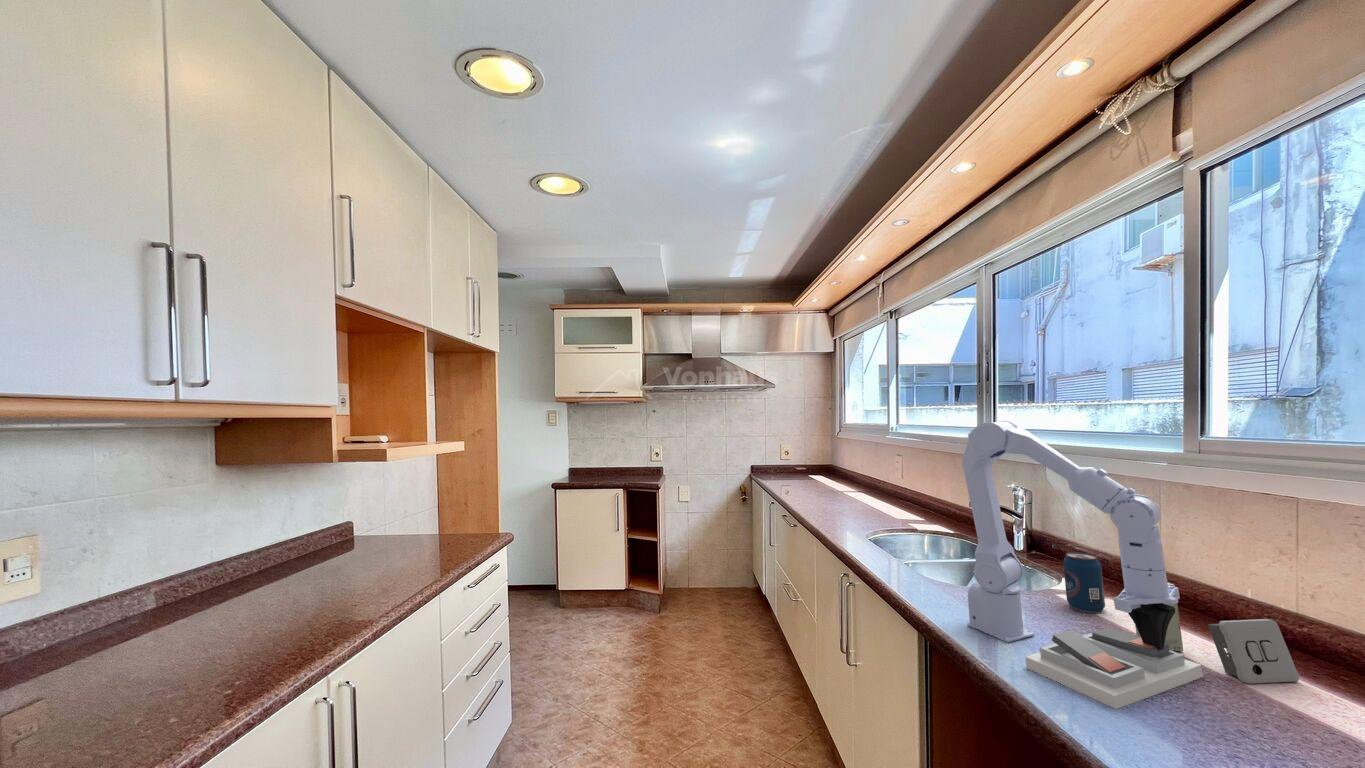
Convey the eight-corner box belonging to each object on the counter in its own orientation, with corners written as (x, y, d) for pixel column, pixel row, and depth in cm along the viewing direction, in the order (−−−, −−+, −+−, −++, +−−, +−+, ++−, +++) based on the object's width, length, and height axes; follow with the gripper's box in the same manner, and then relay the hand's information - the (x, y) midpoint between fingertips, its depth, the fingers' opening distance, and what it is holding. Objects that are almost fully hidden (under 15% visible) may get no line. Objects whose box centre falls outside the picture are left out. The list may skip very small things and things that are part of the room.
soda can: (1060, 602, 119) (1055, 551, 120) (1092, 602, 118) (1087, 551, 119) (1079, 614, 112) (1074, 559, 113) (1113, 614, 111) (1108, 559, 112)
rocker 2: (1092, 639, 93) (1091, 631, 93) (1110, 634, 94) (1109, 626, 94) (1151, 657, 84) (1150, 648, 84) (1169, 651, 86) (1168, 643, 86)
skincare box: (1184, 652, 93) (1177, 585, 94) (1157, 651, 94) (1150, 584, 95) (1159, 637, 99) (1153, 574, 100) (1134, 636, 100) (1128, 574, 101)
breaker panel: (1026, 668, 90) (1024, 647, 90) (1108, 643, 98) (1106, 624, 98) (1116, 709, 77) (1113, 684, 77) (1202, 677, 85) (1200, 655, 85)
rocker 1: (1051, 640, 89) (1053, 634, 89) (1070, 635, 91) (1072, 629, 90) (1107, 680, 81) (1109, 673, 80) (1127, 674, 82) (1129, 667, 82)
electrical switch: (1245, 685, 82) (1233, 625, 83) (1212, 672, 87) (1201, 616, 88) (1302, 683, 82) (1288, 623, 83) (1265, 670, 87) (1253, 614, 88)
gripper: (1144, 578, 81) (1156, 666, 80) (1196, 566, 86) (1208, 648, 85) (1096, 568, 88) (1106, 649, 86) (1147, 557, 93) (1157, 633, 91)
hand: (1154, 647), depth 86 cm, fingers closed, pressing on rocker 2
